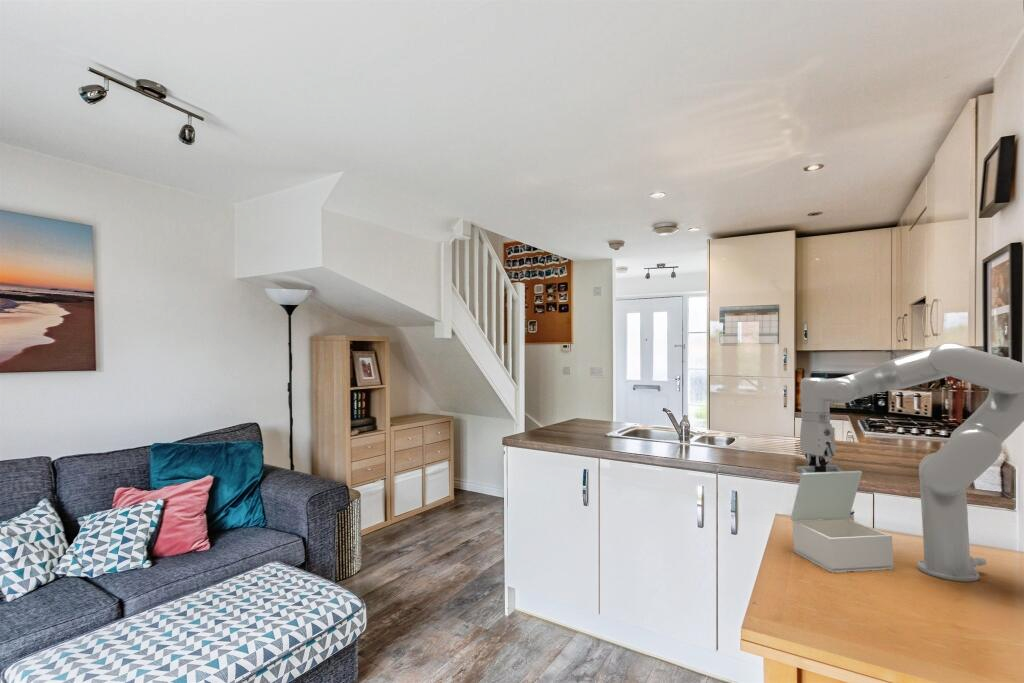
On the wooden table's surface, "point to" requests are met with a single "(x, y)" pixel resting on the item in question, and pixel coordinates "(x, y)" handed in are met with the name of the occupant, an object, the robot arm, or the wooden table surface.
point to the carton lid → (825, 493)
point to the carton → (843, 545)
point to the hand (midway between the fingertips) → (817, 477)
